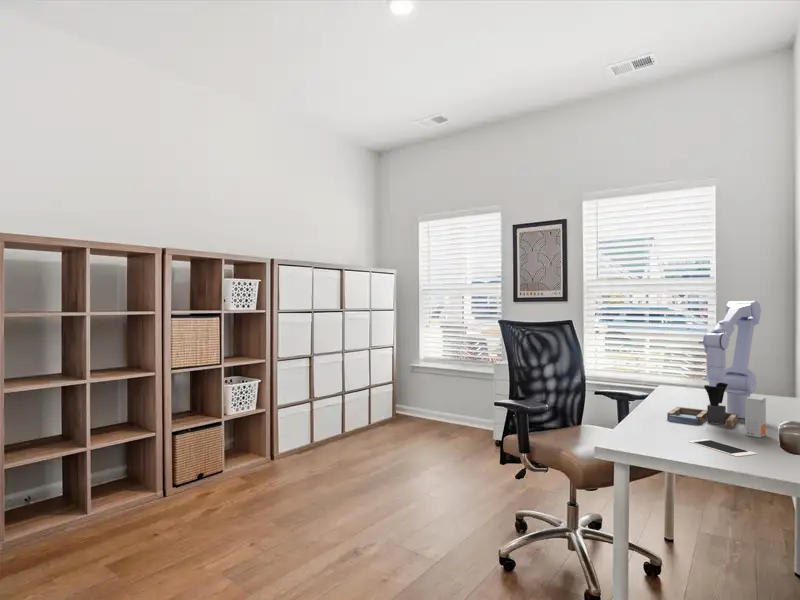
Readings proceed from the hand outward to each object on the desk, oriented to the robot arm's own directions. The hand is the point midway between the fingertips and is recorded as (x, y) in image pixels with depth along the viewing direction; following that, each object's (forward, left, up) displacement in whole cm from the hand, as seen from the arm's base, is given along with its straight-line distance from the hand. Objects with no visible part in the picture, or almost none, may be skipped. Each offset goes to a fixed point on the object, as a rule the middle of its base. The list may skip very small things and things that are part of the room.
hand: (716, 404), depth 174 cm
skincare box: (+12, +13, -7) cm, 19 cm away
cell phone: (+36, +7, -7) cm, 37 cm away
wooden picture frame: (0, -4, -6) cm, 8 cm away
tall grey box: (0, 0, -7) cm, 7 cm away
